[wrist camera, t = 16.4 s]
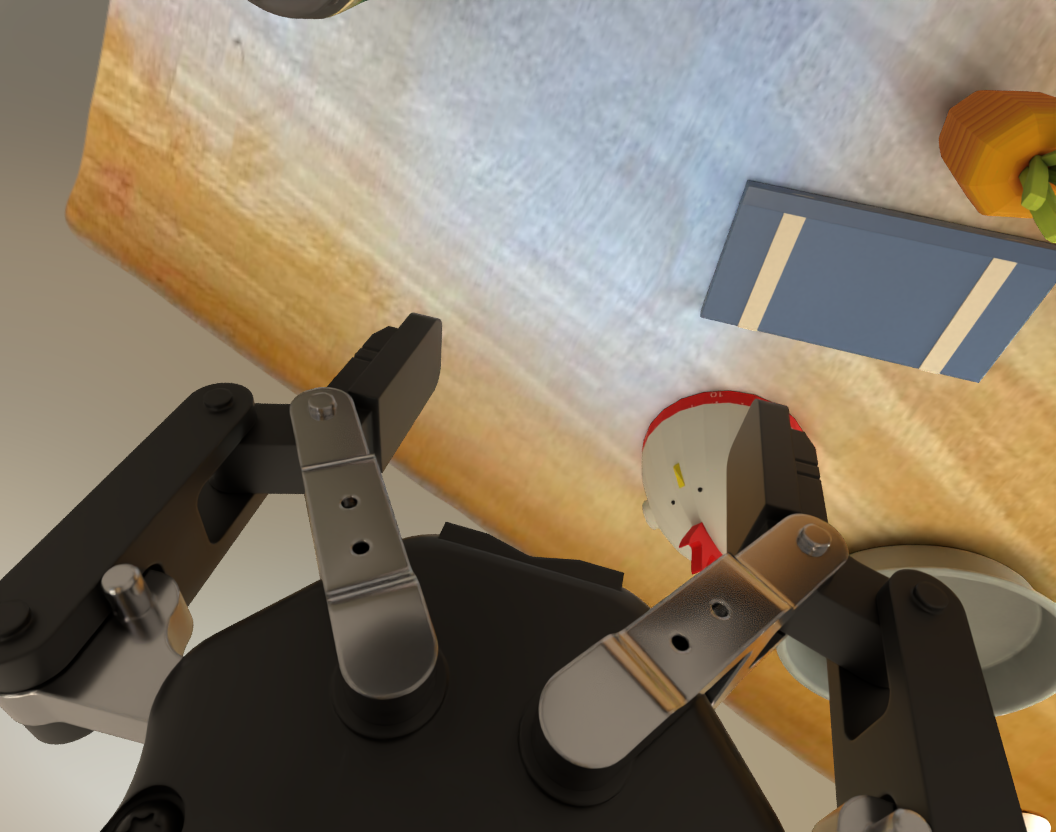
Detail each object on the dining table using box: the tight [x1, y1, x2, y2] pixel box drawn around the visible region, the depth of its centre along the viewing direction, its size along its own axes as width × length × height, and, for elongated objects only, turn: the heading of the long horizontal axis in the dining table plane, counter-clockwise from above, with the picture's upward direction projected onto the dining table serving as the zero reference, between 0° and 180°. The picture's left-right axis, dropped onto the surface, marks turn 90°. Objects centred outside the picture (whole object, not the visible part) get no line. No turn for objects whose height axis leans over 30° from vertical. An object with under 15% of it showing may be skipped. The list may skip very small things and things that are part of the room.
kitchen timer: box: [642, 391, 802, 574], centre depth 48 cm, size 14×14×15 cm
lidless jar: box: [1022, 813, 1051, 832], centre depth 76 cm, size 5×3×5 cm
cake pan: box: [776, 545, 1056, 717], centre depth 58 cm, size 25×25×4 cm
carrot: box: [939, 90, 1056, 243], centre depth 29 cm, size 5×5×15 cm
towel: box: [700, 180, 1056, 383], centre depth 41 cm, size 10×20×1 cm, turn 83°
